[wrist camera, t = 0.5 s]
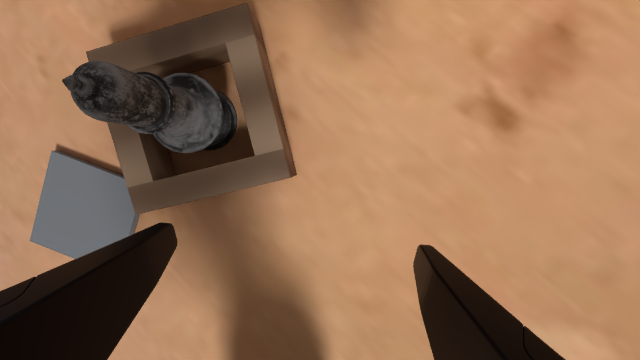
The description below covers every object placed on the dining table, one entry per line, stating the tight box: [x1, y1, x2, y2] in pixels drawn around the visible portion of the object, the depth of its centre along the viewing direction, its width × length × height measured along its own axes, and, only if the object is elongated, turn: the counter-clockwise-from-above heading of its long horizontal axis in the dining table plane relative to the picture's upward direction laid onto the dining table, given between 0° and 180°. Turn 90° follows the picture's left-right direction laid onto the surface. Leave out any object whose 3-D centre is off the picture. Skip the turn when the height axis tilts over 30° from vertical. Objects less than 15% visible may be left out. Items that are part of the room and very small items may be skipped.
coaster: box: [30, 151, 139, 259], centre depth 24 cm, size 9×9×1 cm
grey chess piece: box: [62, 61, 237, 153], centre depth 17 cm, size 6×6×12 cm
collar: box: [86, 3, 297, 215], centre depth 21 cm, size 13×13×3 cm
